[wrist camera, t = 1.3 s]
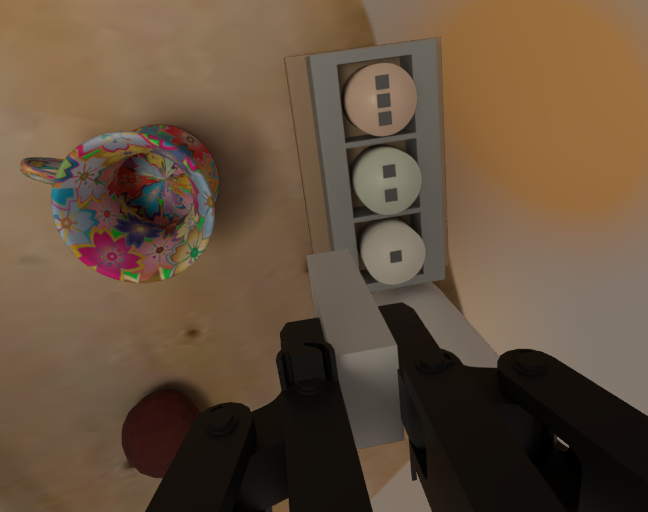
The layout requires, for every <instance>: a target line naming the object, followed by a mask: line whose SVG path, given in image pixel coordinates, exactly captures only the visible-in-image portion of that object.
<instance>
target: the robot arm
mask: <svg viewBox="0 0 648 512" xmlns="http://www.w3.org/2000/svg"><path fill="white" fill-rule="evenodd" d="M306 257H307V264H308V271H309V278H310V285H311V292H312V298H313V305H314V312H315V318H312V319H306V320H300V321H294V322H288V323H286V324H285V326H284V327H283V329H282V331H281V332H280V338H281V350H280V351H279V353H278V354H277V358H276V363H277V368H278V374H279V379H280V384H281V390H282V391H281V393H280V394H279V395H278V396H277V398H276V399H275V400H273V401H272V402H271V403H269V404H268V405H266V406H264V407H262V408H259V409H257V410H255V411H252V412H251V411H250V409H249V407H247V406H245V405H243V404H241V403H233V402H229V403H222V404H218V405H216V406H213V407H211V408H208V409H207V410H205V411H204V412H202V413H201V414H200V415H198V417H197V418H196V419H195V420H194V422H193V423H192V425H191V426H190V428H189V430H188V432H187V434H186V436H185V438H184V440H183V442H182V443H181V445H180V447H179V449H178V451H177V453H176V455H175V457H174V458H173V460H172V462H171V464H170V466H169V468H168V470H167V472H166V474H165V475H164V477H163V479H162V481H161V483H160V485H159V487H158V489H157V490H156V492H155V494H154V496H153V498H152V500H151V502H150V504H149V506H148V507H147V509H146V511H145V512H272V506H273V505H275V504H277V503H279V502H281V501H283V500H285V499H287V498H289V510H290V512H373V511H372V507H371V503H370V499H369V495H368V491H367V487H366V484H365V480H364V476H363V472H362V468H361V464H360V460H359V457H358V453H357V449H361V448H366V447H371V446H377V445H382V444H387V443H393V442H398V441H403V440H404V428H403V425H404V427H405V429H406V432H407V434H408V437H409V448H410V462H411V474H412V480H413V481H414V480H417V475H416V472H417V474H418V477H419V479H420V482H421V484H422V487H423V489H424V492H425V495H426V497H427V500H428V502H429V505H430V507H431V510H432V512H648V416H647V415H645V414H643V413H642V412H640V411H639V410H637V409H635V408H634V407H632V406H631V405H629V404H628V403H626V402H624V401H623V400H621V399H619V398H618V397H616V396H615V395H613V394H611V393H610V392H608V391H607V390H605V389H603V388H602V387H600V386H599V385H597V384H596V383H594V382H592V381H591V380H589V379H588V378H586V377H584V376H583V375H581V374H580V373H578V372H576V371H575V370H573V369H572V368H570V367H568V366H567V365H565V364H564V363H562V362H560V361H559V360H557V359H556V358H554V357H552V356H550V355H548V354H546V353H544V352H541V351H536V350H532V349H515V350H511V351H507V352H505V353H504V354H502V355H500V357H499V359H498V361H497V368H490V367H472V366H466V365H463V363H462V362H461V360H460V359H459V358H458V357H457V356H456V355H455V354H454V353H452V352H450V351H447V350H445V349H440V347H439V346H438V344H437V343H436V341H435V340H434V338H433V337H432V335H431V334H430V332H429V331H428V329H427V328H426V327H425V325H424V323H423V322H422V320H421V319H420V317H419V316H418V314H417V313H416V311H415V310H414V309H413V308H412V307H410V306H408V305H406V304H405V303H403V302H400V303H394V304H388V305H382V306H377V305H376V303H375V301H374V299H373V297H372V295H371V293H370V291H369V289H368V287H367V285H366V283H365V281H364V279H363V277H362V275H361V273H360V271H359V269H358V267H357V265H356V264H355V262H354V260H353V258H352V256H351V254H350V252H349V250H348V249H343V250H337V251H331V252H325V253H318V254H312V255H306ZM557 436H558V437H559V438H560V439H561V440H563V441H564V442H565V443H566V444H568V445H569V448H568V447H566V446H565V445H563V444H562V443H561V442H560V441H558V440H557Z"/></svg>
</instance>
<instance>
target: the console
mask: <svg viewBox="0 0 648 512" xmlns="http://www.w3.org/2000/svg"><path fill="white" fill-rule="evenodd" d="M284 62H285V68H286V75H287V82H288V89H289V96H290V102H291V109H292V116H293V123H294V130H295V136H296V143H297V150H298V157H299V164H300V170H301V177H302V184H303V191H304V198H305V205H306V211H307V218H308V225H309V232H310V239H311V245H312V252H313V254H318V253H325V252H331V251H337V250H343V249H348V250H349V252H350V254H351V256H352V258H353V260H354V262H355V264H356V265H357V267H358V269H359V271H360V273H361V275H362V277H363V279H364V281H365V283H366V285H367V287H368V289H369V291H370V292H376V291H382V290H387V289H393V288H399V287H404V286H410V285H415V284H421V283H427V282H432V281H438V280H444V279H445V266H449V258H448V230H447V200H446V171H445V144H444V143H445V142H444V115H443V85H442V57H441V37H435V38H428V39H421V40H413V41H406V42H398V43H390V44H383V45H375V46H368V47H360V48H353V49H346V50H338V51H331V52H323V53H316V54H308V55H301V56H293V57H286V58H284ZM379 63H391V64H395V65H397V66H399V67H401V68H403V69H404V70H405V71H406V72H407V73H408V74H409V75H410V76H411V78H412V80H413V81H414V84H415V86H416V91H417V105H416V109H415V112H414V115H413V117H412V118H411V120H410V121H409V123H408V124H407V125H406V126H405V127H404V128H403V129H402V130H400V131H399V132H397V133H395V134H392V135H389V136H374V135H371V134H368V133H366V132H364V131H362V130H360V129H358V128H356V127H354V126H353V125H352V124H351V123H350V122H349V121H348V120H347V118H346V116H345V114H344V112H343V109H342V104H341V95H342V90H343V87H344V85H345V83H346V81H347V79H348V78H349V77H350V75H351V74H352V73H353V72H355V71H356V70H357V69H359V68H361V67H364V66H367V65H372V64H379ZM380 144H382V145H389V146H392V147H394V148H396V149H398V150H400V151H402V152H404V153H406V154H408V155H410V156H411V157H412V158H413V159H414V160H415V161H416V163H417V164H418V166H419V169H420V172H421V178H422V182H421V188H420V192H419V194H418V196H417V198H416V199H415V201H414V202H413V203H412V204H411V205H410V206H409V207H408V208H407V209H405V210H403V211H402V212H399V213H397V214H392V215H383V214H378V213H376V212H373V211H372V210H370V209H369V208H368V207H367V206H366V205H365V204H364V203H363V202H362V201H361V200H360V199H359V198H358V196H357V195H356V194H355V193H354V191H353V189H352V187H351V184H350V169H351V166H352V163H353V161H354V160H355V158H356V157H357V156H358V154H359V153H361V152H362V151H363V150H364V149H366V148H368V147H370V146H373V145H380ZM389 217H398V218H400V219H401V220H403V221H404V222H405V223H406V224H407V225H409V226H410V227H411V228H412V229H413V230H414V231H415V232H416V233H417V234H418V235H419V236H420V237H421V239H422V240H423V243H424V246H425V260H424V263H423V265H422V267H421V269H420V270H419V272H418V273H417V274H416V275H415V276H414V277H413V278H411V279H410V280H408V281H406V282H404V283H401V284H395V285H390V284H384V283H381V282H379V281H377V280H376V279H375V278H373V276H372V275H371V274H370V273H369V271H368V269H367V268H366V266H365V264H364V263H363V261H362V259H361V258H360V256H359V253H358V249H357V241H358V237H359V234H360V232H361V230H362V229H363V227H364V226H365V225H366V224H367V223H368V222H370V221H371V220H376V219H383V218H389Z"/></svg>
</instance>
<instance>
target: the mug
mask: <svg viewBox="0 0 648 512" xmlns="http://www.w3.org/2000/svg"><path fill="white" fill-rule="evenodd" d="M42 169H56V170H58V171H57V173H52V172H48V171H45V170H42ZM20 171H21V172H22V173H23V174H24V175H25V176H27V177H29V178H31V179H34V180H37V181H40V182H43V183H47V184H51V185H53V186H52V193H51V206H52V213H53V218H54V221H55V225H56V227H57V230H58V232H59V234H60V236H61V238H62V239H63V241H64V242H65V244H66V245H67V247H68V248H69V249H70V250H71V252H72V253H73V254H74V255H75V256H76V257H77V258H78V259H80V260H81V261H82V262H83V263H84V264H86V265H87V266H88V267H90V268H92V269H93V270H95V271H97V272H99V273H101V274H103V275H105V276H108V277H110V278H113V279H116V280H121V281H125V282H133V283H148V282H156V281H160V280H164V279H167V278H170V277H173V276H175V275H177V274H179V273H181V272H182V271H184V270H185V269H187V268H188V267H190V266H191V265H192V264H193V263H194V262H195V261H196V260H197V259H198V258H199V257H200V256H201V254H202V253H203V251H204V250H205V248H206V247H207V245H208V243H209V240H210V238H211V235H212V231H213V228H214V221H215V208H214V204H215V202H216V199H217V196H218V191H219V175H218V170H217V167H216V164H215V162H214V159H213V157H212V156H211V154H210V152H209V151H208V150H207V148H206V147H205V146H204V145H203V144H202V143H201V142H200V141H199V140H198V139H197V138H195V137H194V136H192V135H191V134H189V133H188V132H186V131H184V130H181V129H179V128H176V127H172V126H167V125H149V126H144V127H141V128H138V129H136V130H133V131H119V132H111V133H106V134H102V135H99V136H96V137H94V138H91V139H89V140H87V141H86V142H84V143H82V144H81V145H79V146H78V147H76V148H75V149H74V150H73V151H72V152H71V153H70V154H69V155H68V156H67V157H66V158H65V160H64V159H56V158H42V157H33V158H26V159H23V160H22V161H21V164H20Z"/></svg>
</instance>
